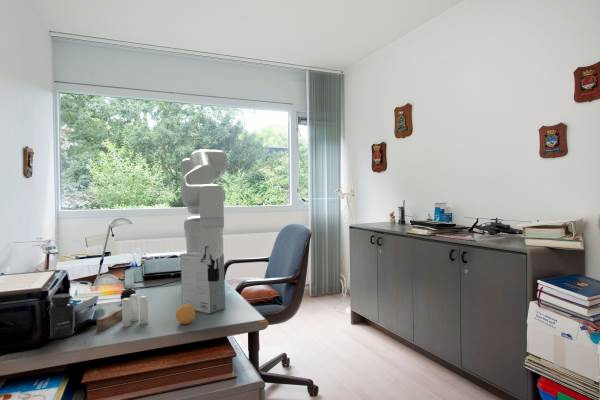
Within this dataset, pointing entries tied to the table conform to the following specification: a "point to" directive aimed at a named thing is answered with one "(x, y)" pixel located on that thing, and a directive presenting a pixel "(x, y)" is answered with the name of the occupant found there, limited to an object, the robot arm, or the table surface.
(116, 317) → the backstop wall
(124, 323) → the back left pin
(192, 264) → the hard drive box
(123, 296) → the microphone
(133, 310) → the back right pin
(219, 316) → the table surface
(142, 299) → the front pin
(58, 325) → the supplement bottle
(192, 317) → the ball
